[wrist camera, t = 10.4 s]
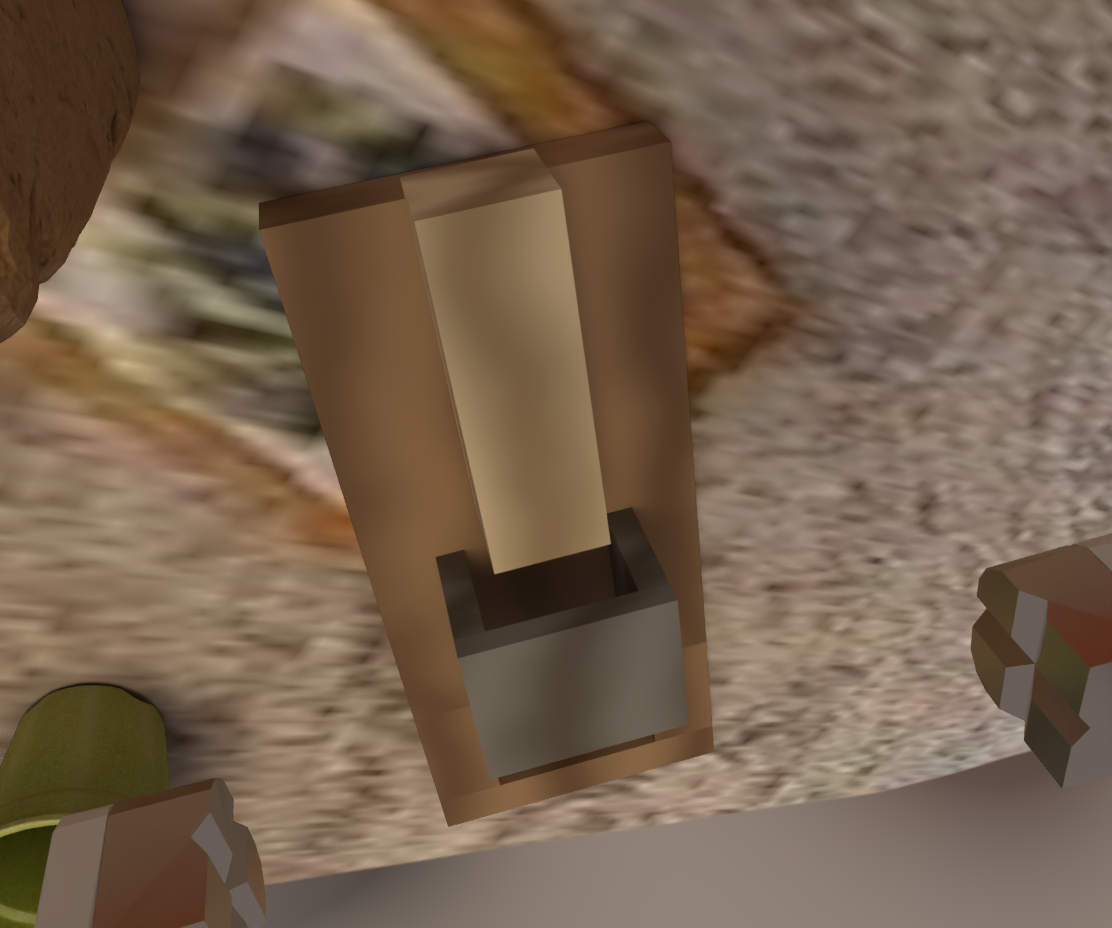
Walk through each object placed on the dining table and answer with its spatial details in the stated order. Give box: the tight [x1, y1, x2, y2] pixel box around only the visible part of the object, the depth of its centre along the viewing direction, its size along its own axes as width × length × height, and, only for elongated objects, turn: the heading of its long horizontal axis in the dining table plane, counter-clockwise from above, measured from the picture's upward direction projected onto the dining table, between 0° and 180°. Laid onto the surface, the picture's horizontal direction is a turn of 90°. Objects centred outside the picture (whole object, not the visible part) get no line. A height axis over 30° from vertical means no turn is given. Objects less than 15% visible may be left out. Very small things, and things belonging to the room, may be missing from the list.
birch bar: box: [400, 148, 611, 574], centre depth 37 cm, size 4×14×4 cm, turn 9°
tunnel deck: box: [259, 121, 714, 827], centre depth 43 cm, size 14×32×8 cm, turn 9°
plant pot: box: [0, 685, 170, 928], centre depth 44 cm, size 9×9×9 cm
